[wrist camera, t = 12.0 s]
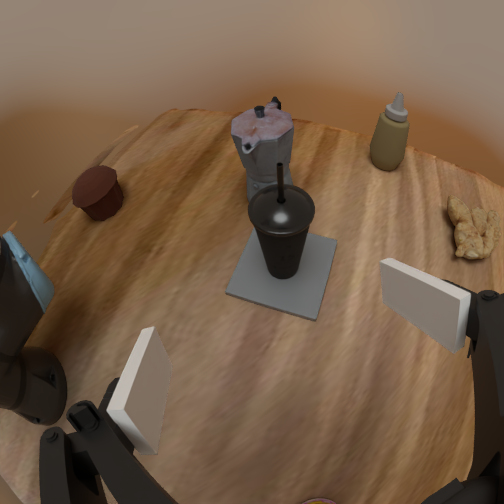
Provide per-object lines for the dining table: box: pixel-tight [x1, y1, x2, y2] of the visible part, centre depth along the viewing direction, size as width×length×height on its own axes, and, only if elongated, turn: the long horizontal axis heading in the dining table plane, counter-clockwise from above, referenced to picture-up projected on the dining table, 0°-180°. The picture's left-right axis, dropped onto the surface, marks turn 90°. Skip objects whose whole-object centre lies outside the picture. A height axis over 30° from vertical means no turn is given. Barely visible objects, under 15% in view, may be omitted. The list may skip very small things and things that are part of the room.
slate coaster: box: [225, 227, 337, 321], centre depth 43 cm, size 14×14×1 cm
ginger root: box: [447, 195, 501, 259], centre depth 40 cm, size 16×16×8 cm
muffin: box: [72, 165, 124, 221], centre depth 52 cm, size 12×11×10 cm
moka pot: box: [231, 97, 294, 202], centre depth 44 cm, size 10×15×20 cm, turn 164°
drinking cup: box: [248, 162, 315, 279], centre depth 34 cm, size 8×8×20 cm
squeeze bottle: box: [370, 92, 409, 171], centre depth 47 cm, size 8×8×18 cm
